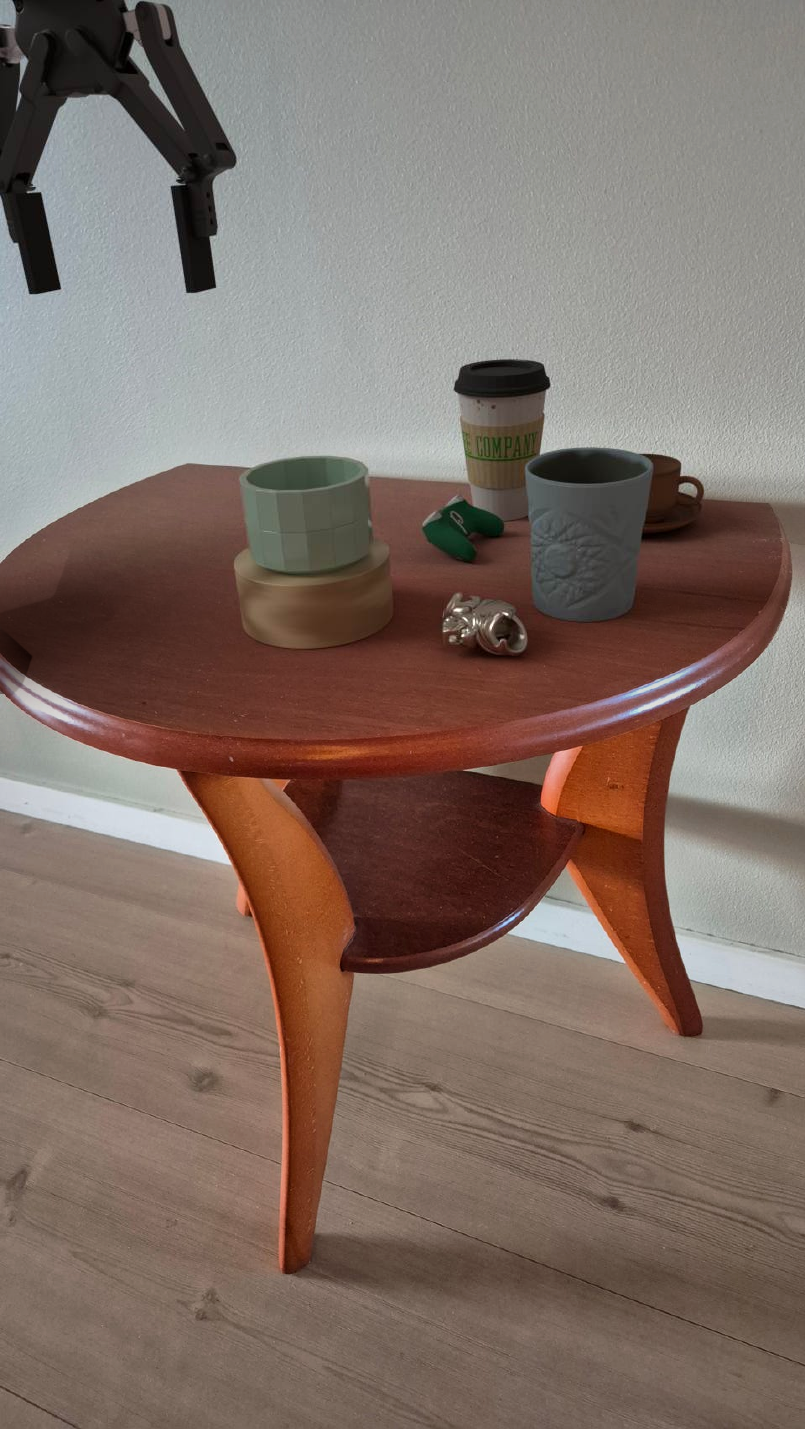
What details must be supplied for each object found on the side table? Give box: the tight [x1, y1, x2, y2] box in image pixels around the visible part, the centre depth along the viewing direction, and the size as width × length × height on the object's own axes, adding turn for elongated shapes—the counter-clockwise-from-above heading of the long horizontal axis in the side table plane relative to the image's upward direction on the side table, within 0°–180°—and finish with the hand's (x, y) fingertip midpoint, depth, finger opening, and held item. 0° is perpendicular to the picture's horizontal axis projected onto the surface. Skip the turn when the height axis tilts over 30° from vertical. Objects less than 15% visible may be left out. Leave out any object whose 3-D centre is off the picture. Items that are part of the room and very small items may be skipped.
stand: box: [233, 536, 394, 650], centre depth 84 cm, size 13×13×6 cm
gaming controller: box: [421, 492, 505, 563], centre depth 98 cm, size 9×4×6 cm
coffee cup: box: [453, 358, 552, 522], centre depth 103 cm, size 10×10×15 cm
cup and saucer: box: [639, 453, 705, 534], centre depth 100 cm, size 12×12×6 cm
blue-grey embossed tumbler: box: [525, 446, 653, 623], centre depth 82 cm, size 10×10×12 cm
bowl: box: [238, 455, 374, 574], centre depth 81 cm, size 10×10×7 cm
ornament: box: [441, 592, 528, 657], centre depth 78 cm, size 8×7×4 cm
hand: (121, 292), depth 71 cm, fingers open, 13 cm apart
